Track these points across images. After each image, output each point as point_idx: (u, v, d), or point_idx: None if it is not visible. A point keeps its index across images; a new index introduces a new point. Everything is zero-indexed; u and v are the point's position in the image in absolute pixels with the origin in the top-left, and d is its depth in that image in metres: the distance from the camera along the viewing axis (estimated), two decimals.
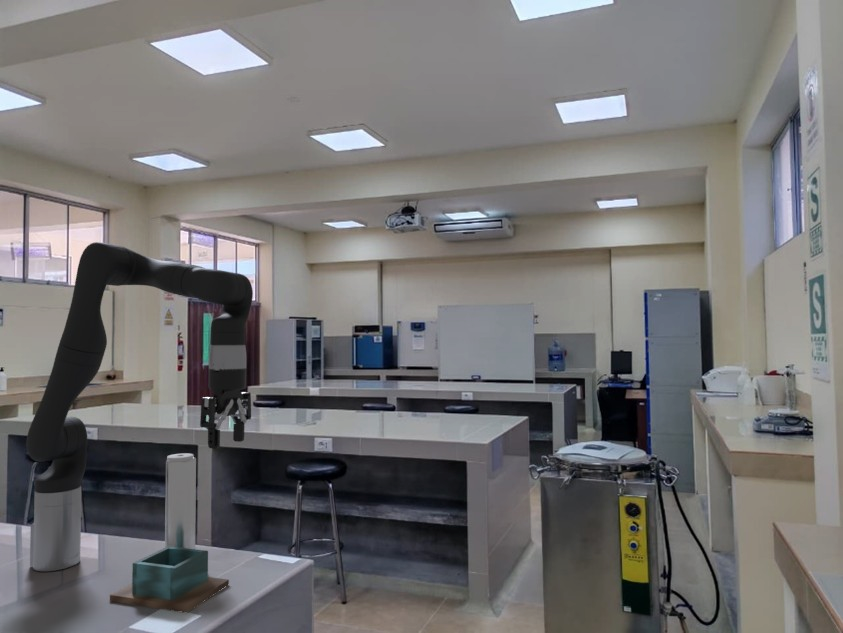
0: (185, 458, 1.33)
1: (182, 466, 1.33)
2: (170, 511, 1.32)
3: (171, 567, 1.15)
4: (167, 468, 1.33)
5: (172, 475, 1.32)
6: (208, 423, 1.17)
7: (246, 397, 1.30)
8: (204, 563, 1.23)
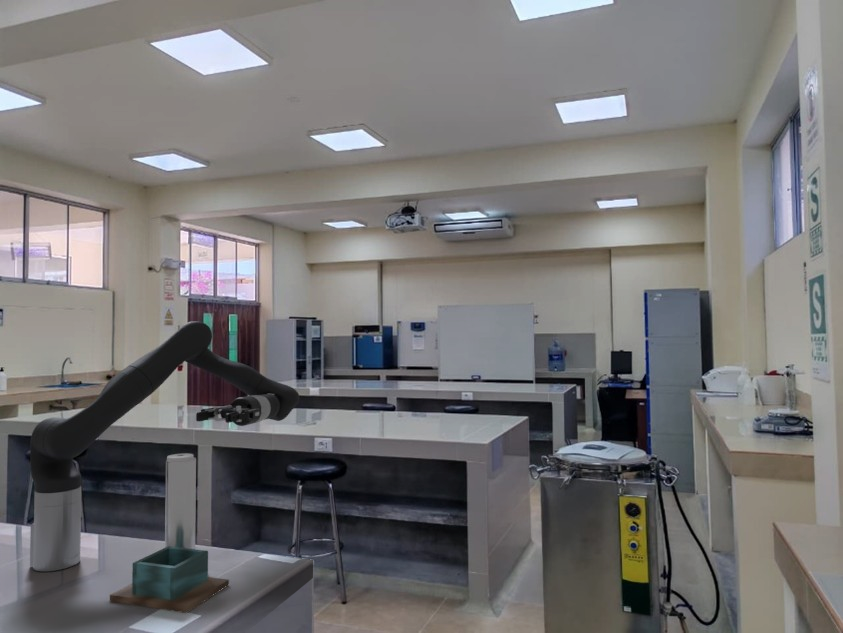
0: (185, 458, 1.33)
1: (182, 466, 1.33)
2: (170, 511, 1.32)
3: (171, 567, 1.15)
4: (167, 468, 1.33)
5: (172, 475, 1.32)
6: (249, 418, 1.49)
7: None
8: (204, 563, 1.23)
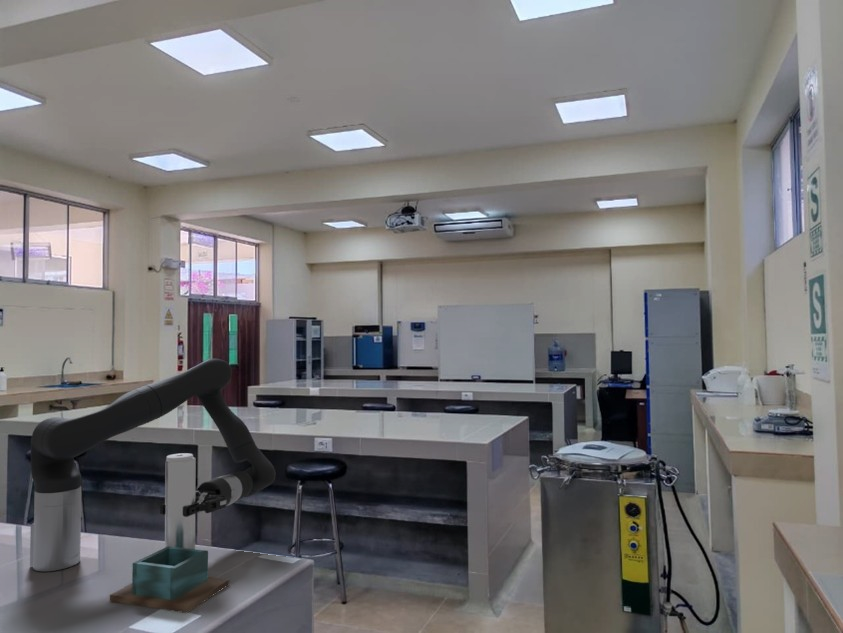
0: (184, 458, 1.33)
1: (181, 466, 1.33)
2: (170, 511, 1.32)
3: (171, 567, 1.15)
4: (167, 468, 1.33)
5: (172, 475, 1.32)
6: (210, 509, 1.36)
7: None
8: (204, 563, 1.23)
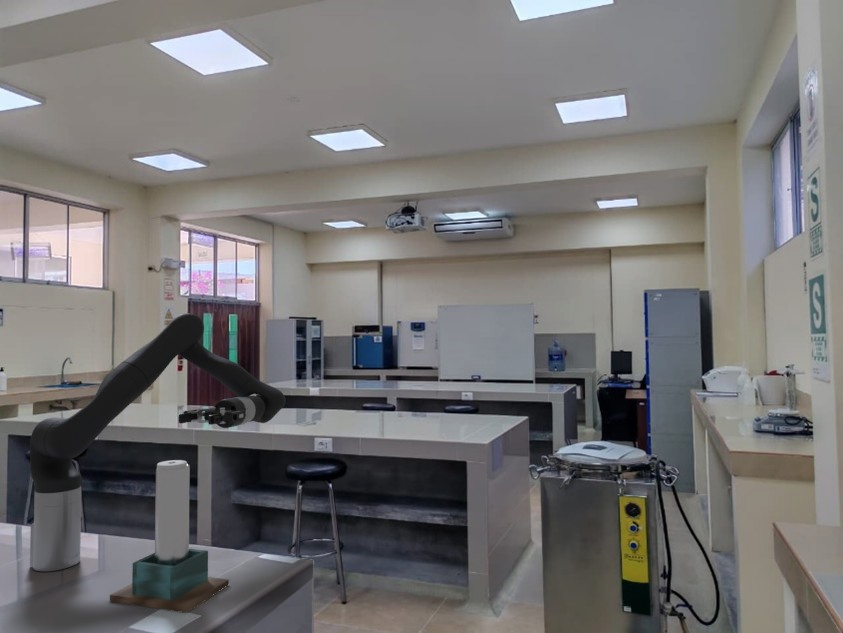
0: (177, 466, 1.19)
1: (174, 475, 1.18)
2: (160, 525, 1.18)
3: (171, 567, 1.15)
4: (157, 476, 1.19)
5: (163, 485, 1.18)
6: (232, 420, 1.46)
7: None
8: (204, 563, 1.23)
